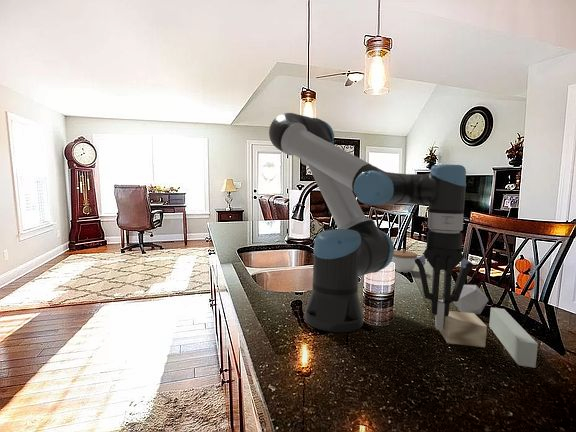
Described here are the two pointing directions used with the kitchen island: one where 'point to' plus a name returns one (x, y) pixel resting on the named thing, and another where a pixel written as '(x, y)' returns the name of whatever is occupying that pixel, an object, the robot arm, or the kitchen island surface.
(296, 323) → the kitchen island surface
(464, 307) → the grey faceted block
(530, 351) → the sage board
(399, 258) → the lidded jar
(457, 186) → the robot arm
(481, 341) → the beech block
